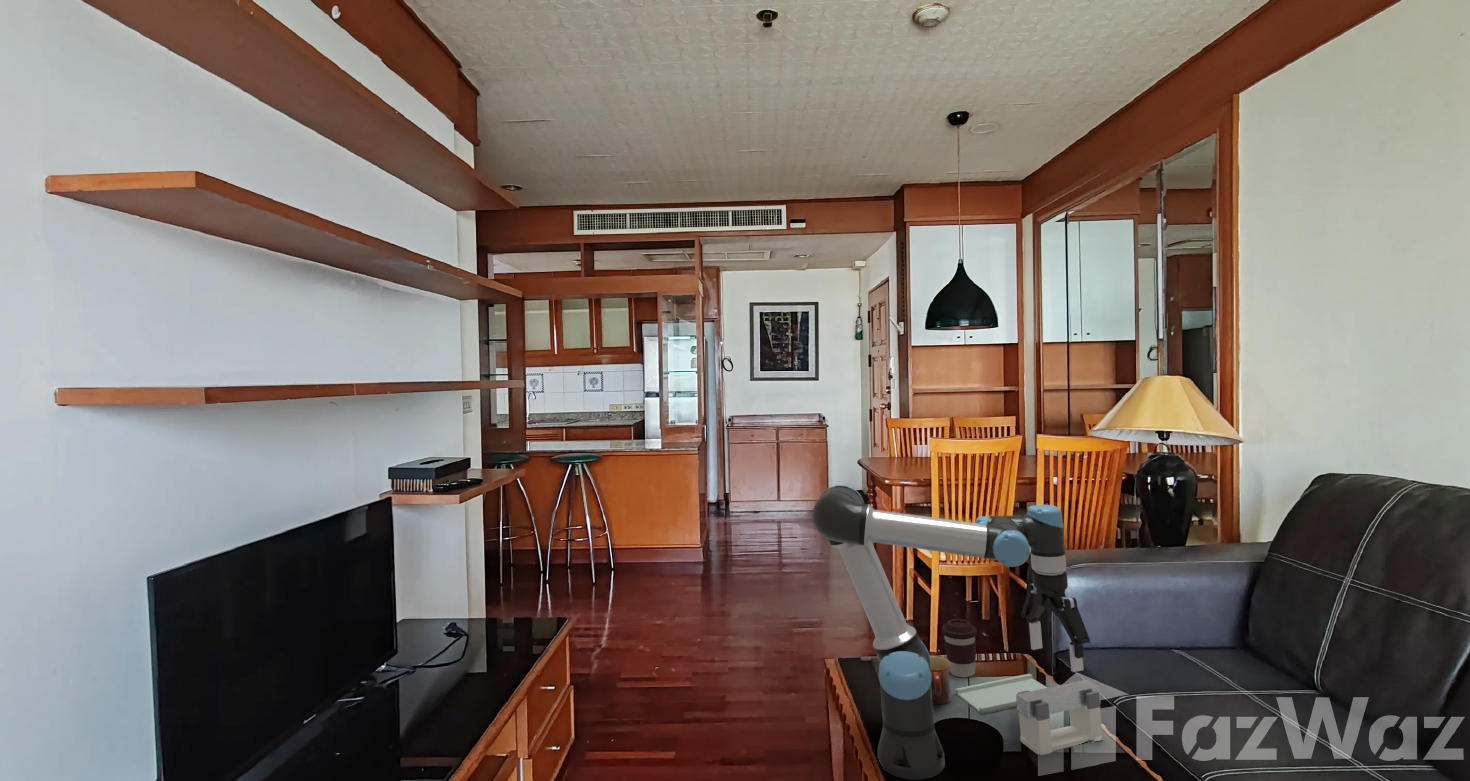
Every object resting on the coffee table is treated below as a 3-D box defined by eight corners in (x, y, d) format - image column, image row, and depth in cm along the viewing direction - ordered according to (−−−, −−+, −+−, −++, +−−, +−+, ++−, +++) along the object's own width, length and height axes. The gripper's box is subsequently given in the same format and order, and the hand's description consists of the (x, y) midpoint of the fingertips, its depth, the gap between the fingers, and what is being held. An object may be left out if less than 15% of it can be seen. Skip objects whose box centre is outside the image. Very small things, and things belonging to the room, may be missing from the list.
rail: (1028, 718, 153) (1027, 701, 153) (1017, 710, 157) (1016, 694, 157) (1100, 702, 157) (1099, 686, 157) (1087, 695, 161) (1086, 679, 161)
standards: (1039, 755, 152) (1035, 706, 151) (1019, 740, 158) (1015, 692, 158) (1104, 739, 156) (1100, 691, 156) (1082, 725, 163) (1078, 679, 162)
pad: (981, 714, 171) (981, 708, 171) (956, 694, 183) (955, 688, 183) (1060, 697, 177) (1059, 691, 177) (1030, 678, 189) (1030, 673, 189)
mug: (919, 691, 186) (916, 655, 186) (951, 692, 184) (948, 655, 184) (922, 712, 174) (919, 674, 174) (957, 713, 173) (954, 675, 172)
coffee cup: (956, 662, 203) (953, 614, 203) (986, 671, 195) (982, 621, 195) (938, 673, 196) (934, 623, 196) (968, 683, 189) (964, 631, 189)
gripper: (1103, 582, 146) (1110, 677, 146) (1027, 556, 170) (1034, 637, 170) (1074, 587, 144) (1082, 683, 144) (1002, 560, 168) (1009, 642, 168)
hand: (1056, 659), depth 157 cm, fingers open, 13 cm apart
